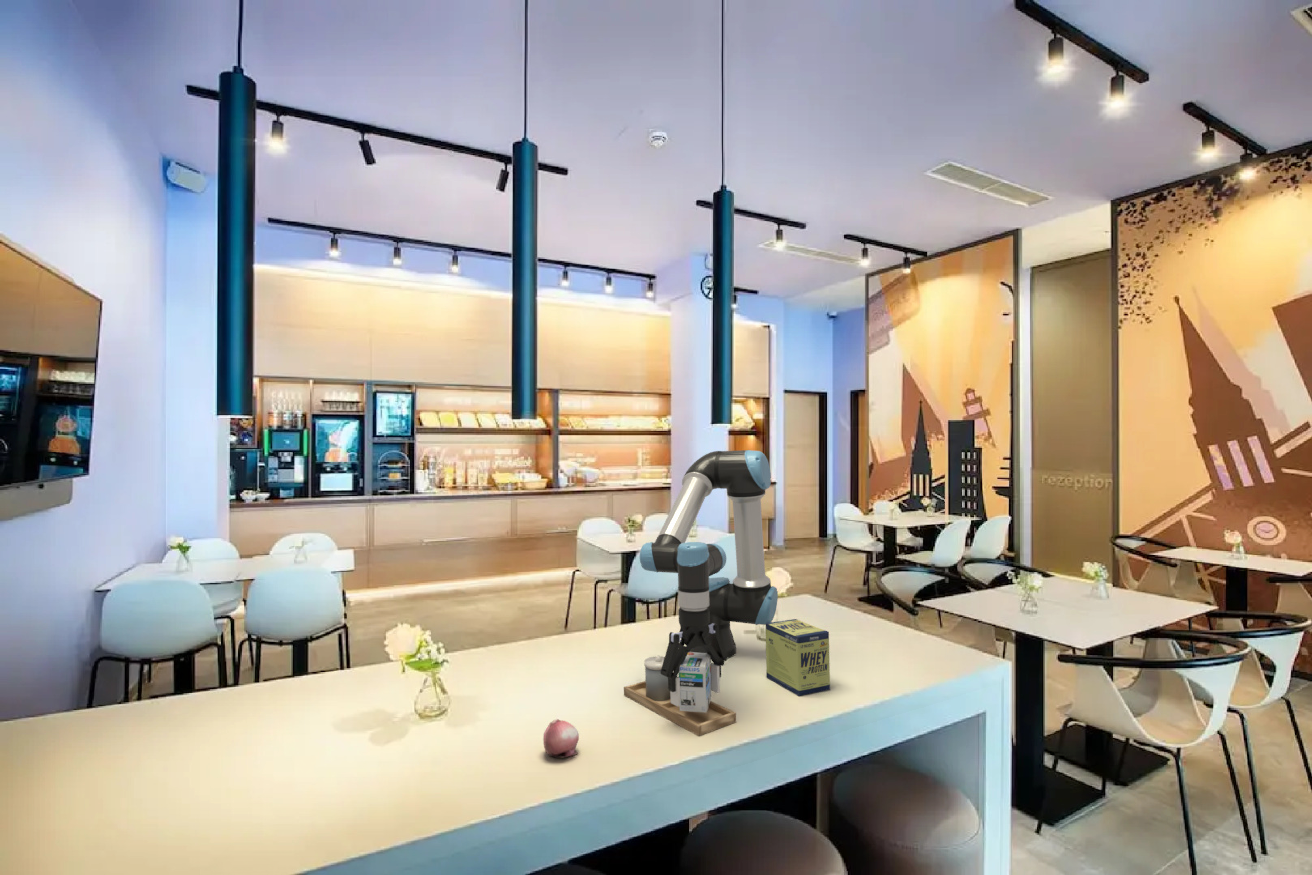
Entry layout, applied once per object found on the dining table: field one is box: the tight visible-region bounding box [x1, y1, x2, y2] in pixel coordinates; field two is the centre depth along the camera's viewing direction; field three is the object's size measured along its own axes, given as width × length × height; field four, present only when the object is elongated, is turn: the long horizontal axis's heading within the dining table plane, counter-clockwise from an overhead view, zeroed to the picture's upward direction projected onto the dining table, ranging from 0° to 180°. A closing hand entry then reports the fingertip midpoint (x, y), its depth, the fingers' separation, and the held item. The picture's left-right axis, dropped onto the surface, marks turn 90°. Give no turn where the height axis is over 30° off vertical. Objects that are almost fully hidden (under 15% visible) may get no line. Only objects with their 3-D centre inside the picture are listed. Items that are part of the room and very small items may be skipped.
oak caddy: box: [623, 680, 737, 737], centre depth 155 cm, size 12×30×2 cm, turn 37°
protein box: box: [765, 618, 831, 697], centre depth 170 cm, size 10×16×16 cm
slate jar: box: [643, 655, 671, 701], centre depth 161 cm, size 7×7×10 cm
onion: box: [542, 718, 580, 759], centre depth 133 cm, size 8×8×7 cm
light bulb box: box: [678, 652, 713, 713], centre depth 149 cm, size 11×7×11 cm, turn 168°
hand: (695, 697), depth 149 cm, fingers closed on light bulb box, 12 cm apart
